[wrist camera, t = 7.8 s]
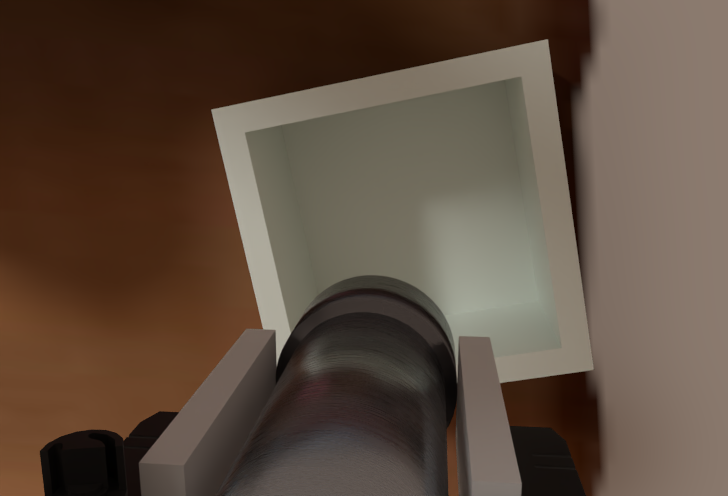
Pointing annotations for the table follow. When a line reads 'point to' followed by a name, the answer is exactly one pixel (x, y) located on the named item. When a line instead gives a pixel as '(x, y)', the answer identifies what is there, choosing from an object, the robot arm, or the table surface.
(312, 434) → the gold topped grey cylinder
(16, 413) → the table surface
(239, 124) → the bin
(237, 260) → the table surface
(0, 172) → the table surface
